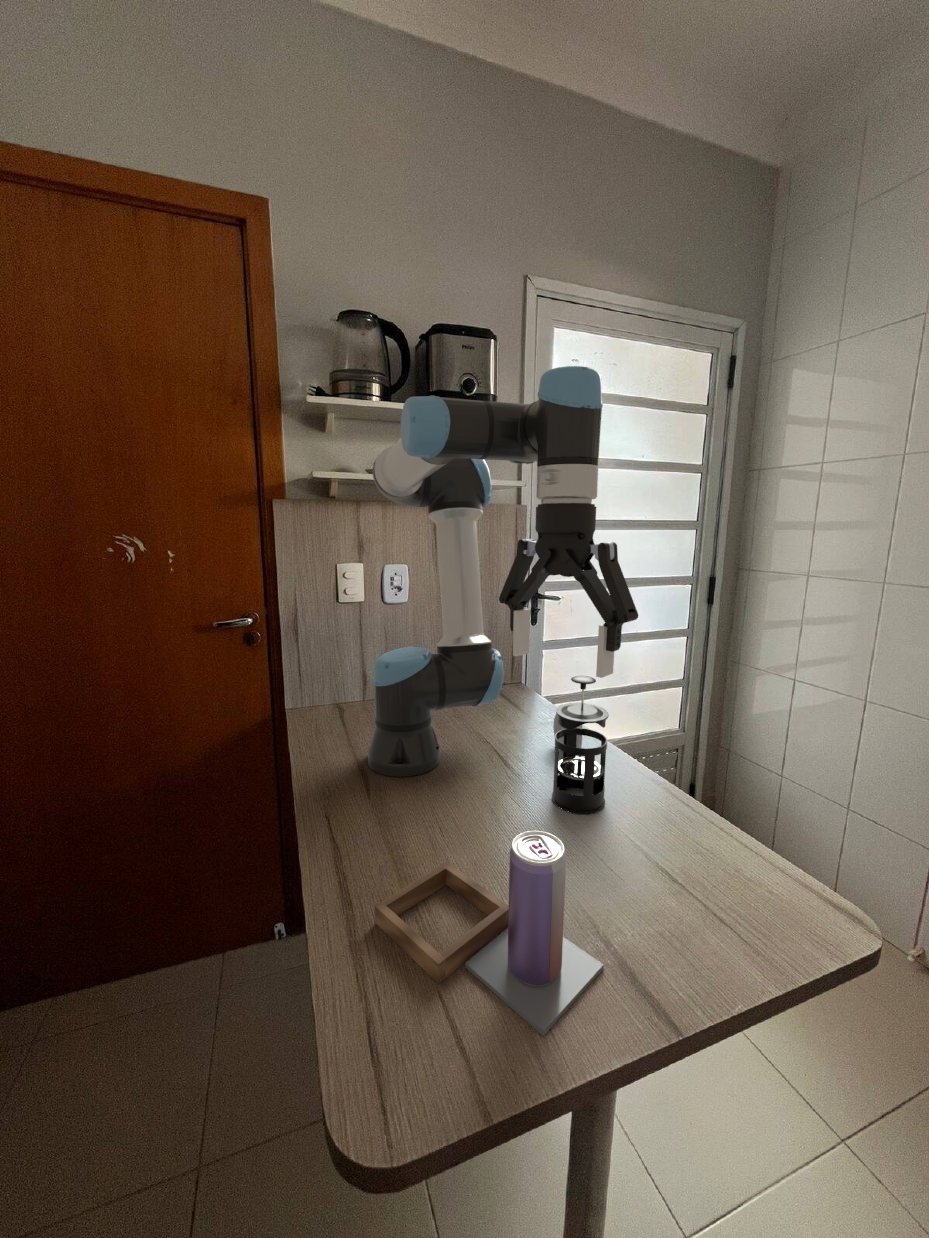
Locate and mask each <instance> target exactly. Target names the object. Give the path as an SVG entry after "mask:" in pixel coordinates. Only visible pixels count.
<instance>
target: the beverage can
mask: <svg viewBox="0 0 929 1238" xmlns="http://www.w3.org/2000/svg"><path fill="white" fill-rule="evenodd" d="M565 851H566V849H565V846H564V843H563V842H562V840H561V839H560V838H558V837H557V836H556V835H553V834H551V833H549V832H547V831H543V830H528V831H524V832H521V833H519V834H517V835H516V836H514V838H513V840H512V841H511V848H510V850H509V864H508V866H509V868H508V869H509V870H508V871H509V872H508V873H509V875H508V876H509V877H508V905H509V916H508V927H507V928H508V964H509V967H510V969H511V971H512V972H513V974H514V975H515V976H516V978H517V979H518V980H520V981H521V982H523V983H524V984H527V985H529V986H534V987H541V986H546V985H548V984H550V983H551V982H553V981H554V980H555V979H556V978H557V977H558V975H559V974H560V972H561V968H562V947H563V937H564V920H565V918H564V915H565V900H566V899H565V898H566V897H565V896H566V876H567V875H566V874H567V871H566V870H567V869H566V868H567V856H566V852H565Z"/></svg>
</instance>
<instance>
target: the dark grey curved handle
mask: <svg viewBox="0 0 929 1238" xmlns="http://www.w3.org/2000/svg"><path fill="white" fill-rule="evenodd" d="M555 713H556V712H555ZM577 728H580V726H579V727H577ZM563 729H564V728H563V727H562V726H560V725H559V723H558V715H557V713H556V714H555V715H554V717H553V735H554V737H555V734H556V733H557V732H558V731H560V730H563ZM558 741H559V742H561V743H563V744H564V736H563V737H561V738H559V739H558ZM579 746H580V735H577V739H576V748H579ZM561 753H563V751H561Z"/></svg>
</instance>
